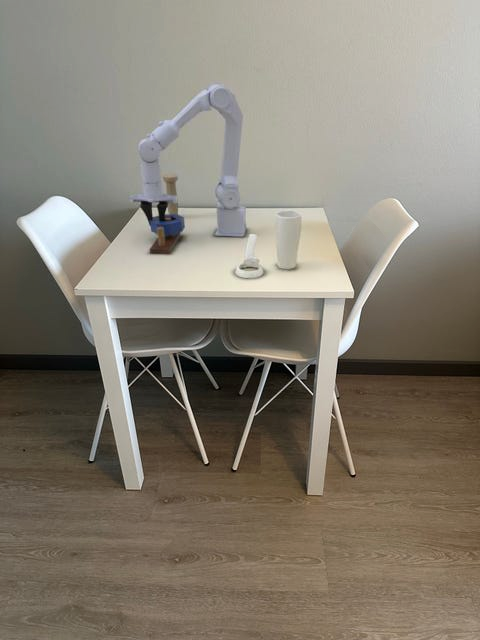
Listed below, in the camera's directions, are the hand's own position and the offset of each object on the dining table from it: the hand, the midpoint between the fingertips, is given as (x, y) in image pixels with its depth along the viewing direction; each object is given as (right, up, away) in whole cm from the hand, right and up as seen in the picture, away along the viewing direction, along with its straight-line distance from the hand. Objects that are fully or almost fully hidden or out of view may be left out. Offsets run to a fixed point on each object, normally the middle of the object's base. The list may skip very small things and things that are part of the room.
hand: (156, 224), depth 148 cm
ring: (+4, -1, 0) cm, 4 cm away
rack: (+3, -7, -2) cm, 8 cm away
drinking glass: (+40, -15, -17) cm, 46 cm away
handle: (+2, +7, +21) cm, 23 cm away
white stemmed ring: (+29, -17, -21) cm, 40 cm away
